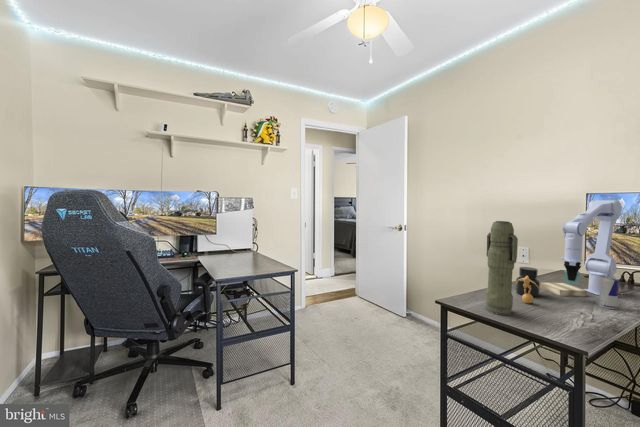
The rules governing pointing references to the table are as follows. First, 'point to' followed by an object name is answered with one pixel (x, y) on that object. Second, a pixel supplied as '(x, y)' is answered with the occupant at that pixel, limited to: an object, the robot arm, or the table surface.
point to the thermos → (500, 267)
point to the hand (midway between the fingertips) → (571, 279)
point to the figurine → (526, 297)
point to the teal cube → (570, 280)
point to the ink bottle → (532, 276)
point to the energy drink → (609, 292)
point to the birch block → (563, 289)
